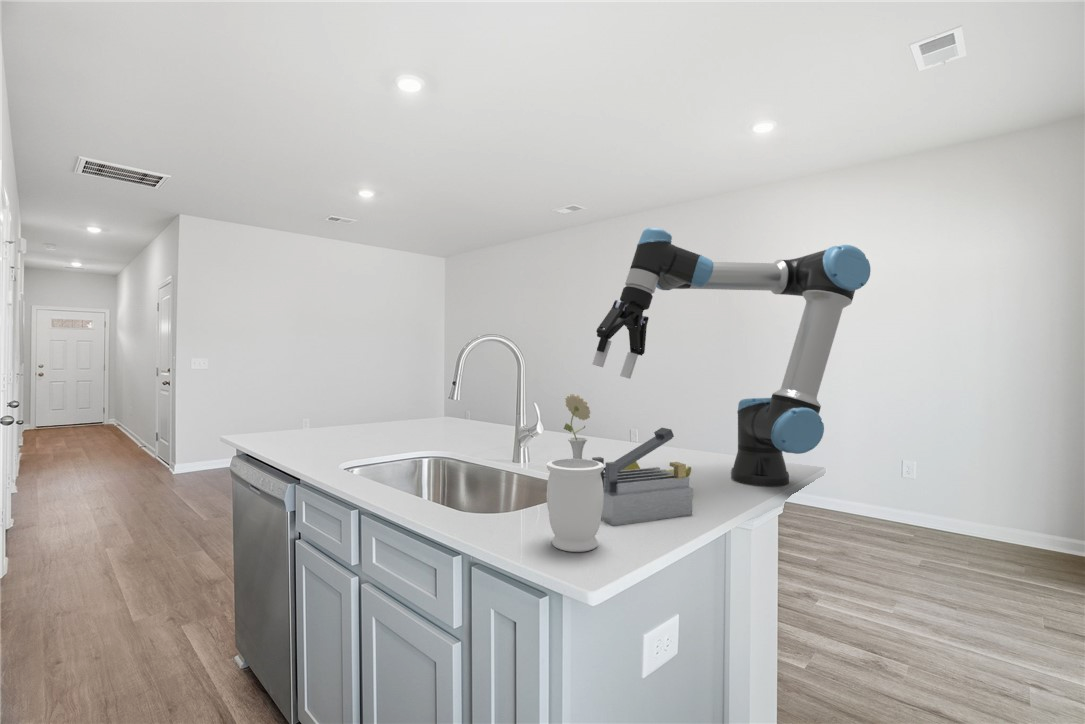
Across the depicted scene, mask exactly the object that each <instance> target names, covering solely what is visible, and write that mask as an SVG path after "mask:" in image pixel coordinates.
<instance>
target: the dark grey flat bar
mask: <svg viewBox="0 0 1085 724" xmlns="http://www.w3.org/2000/svg"><path fill="white" fill-rule="evenodd" d="M653 433H654V436H653V437H652V438H649V440H647V441H645V442H644V443H642V444H641V445H638V446H637V447H635V448H634V449H632V450H630V451H629V452H627V453H626V454H624V455H623V456H621V457H620V458H618V459H616V460H614V461H613V462H616V463H618V472H620V471H621V470H623V469H624V468H626V467H628V466H629V465H631V464H632V463H634V462H638V461H639V460H640V459H642V458H644V457H645V456H647V455H648V454H650V453H652V452H653V451H655V450H656V449H658V448H660V447H661V446H663V445H665V444H666V443H667V442H670V441H671V440H672V439H673V438H674V437H675V436H674V433H673V430H672V429H671V428H666V427H660V428H658V429H657V430H655V431H654V432H653ZM604 472H606V466H604Z"/></svg>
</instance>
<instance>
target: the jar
mask: <svg viewBox="0 0 1085 724" xmlns="http://www.w3.org/2000/svg"><path fill="white" fill-rule="evenodd" d="M603 466H604V467H603ZM604 468H605V465H604V464H603V463H601V462H598V461H593V460H592V459H587V458H582V459H573V458H560V459H559V458H558V459H554V460H550V461H548V462H547V463H546V469H547V471H549V475H548V479H547V485H546V504H547V505H546V506H547V510H548V511H547V512H548V518H549V524H550V528H551V530H552V532H553V534H554V536H553V538H552V540H551V543H552V546H553V547H555V548H557V549H558V550H561V551H565V552H571V553H582V552H583V553H584V552H589V551H592V550H594V549H596V548H597V547H598V545H599V544H598V543H599V542H598V540H597V538H596V535H597V533H598V532H599V530H600V526H601V521H602V519H601V515H602V510H603V502H604V490H603V482H602V477H601V472H602V471H603V469H604Z"/></svg>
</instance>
